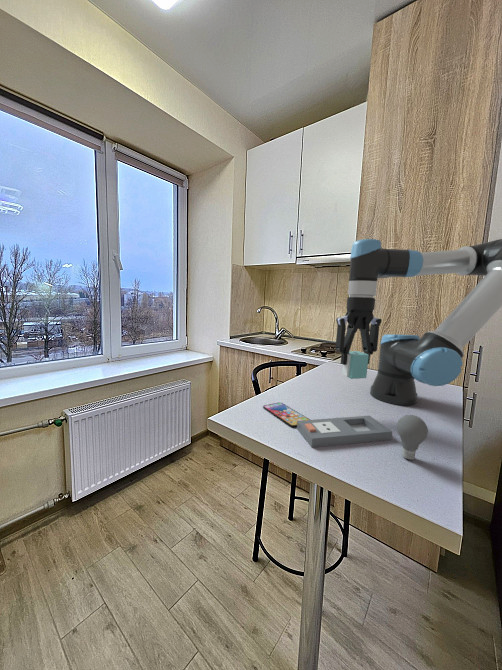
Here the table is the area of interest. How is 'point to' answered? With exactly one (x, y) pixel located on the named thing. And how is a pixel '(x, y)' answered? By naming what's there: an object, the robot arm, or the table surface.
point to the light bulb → (411, 434)
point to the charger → (358, 365)
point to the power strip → (342, 431)
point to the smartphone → (285, 414)
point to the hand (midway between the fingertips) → (353, 374)
